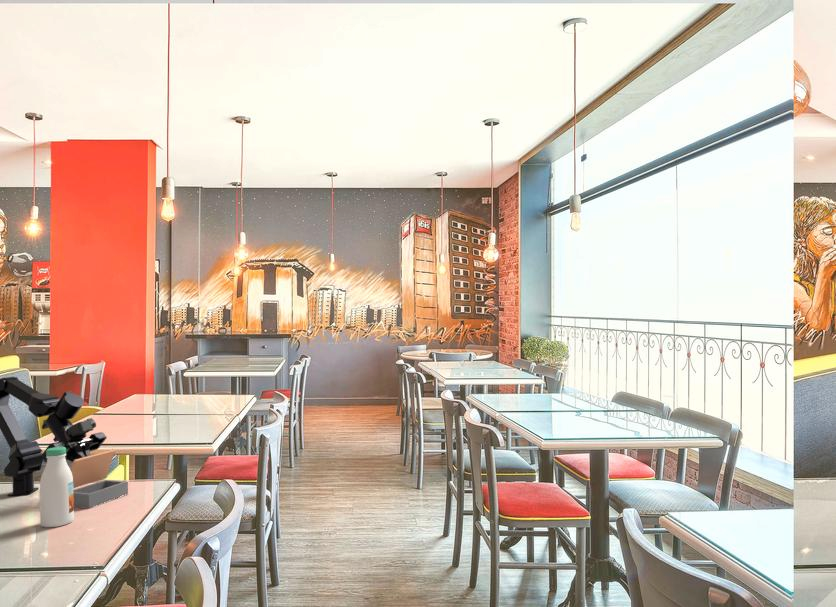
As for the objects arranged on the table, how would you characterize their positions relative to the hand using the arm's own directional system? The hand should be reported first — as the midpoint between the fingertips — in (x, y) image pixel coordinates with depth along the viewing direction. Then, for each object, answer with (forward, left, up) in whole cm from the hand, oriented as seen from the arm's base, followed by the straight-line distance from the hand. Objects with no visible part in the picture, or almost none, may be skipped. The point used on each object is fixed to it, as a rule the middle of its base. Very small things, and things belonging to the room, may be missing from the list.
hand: (90, 467), depth 183 cm
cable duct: (+1, +2, -10) cm, 10 cm away
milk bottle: (+22, -1, -10) cm, 24 cm away
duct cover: (0, 0, -1) cm, 1 cm away
